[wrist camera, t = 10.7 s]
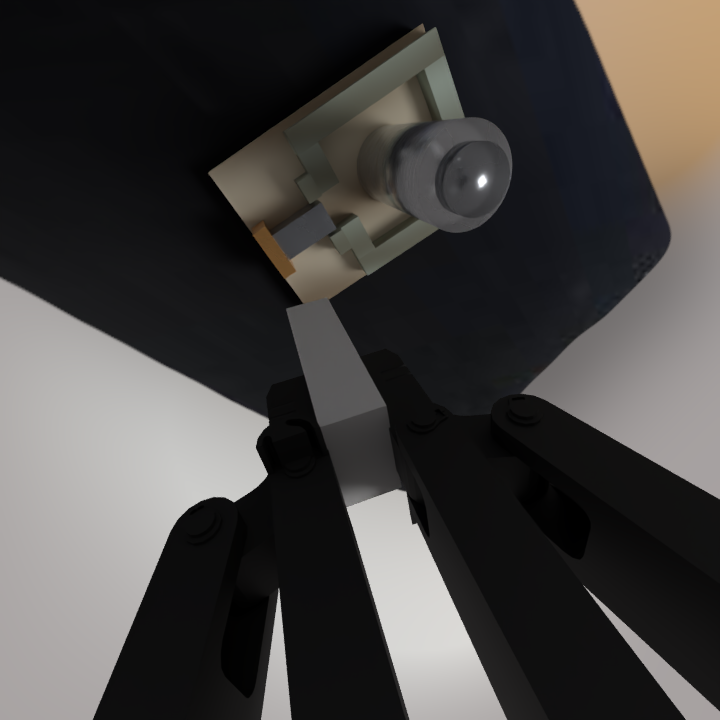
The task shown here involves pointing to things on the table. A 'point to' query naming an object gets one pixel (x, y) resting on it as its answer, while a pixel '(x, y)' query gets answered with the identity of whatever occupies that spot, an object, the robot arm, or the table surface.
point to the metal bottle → (438, 170)
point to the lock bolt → (293, 235)
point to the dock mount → (342, 164)
